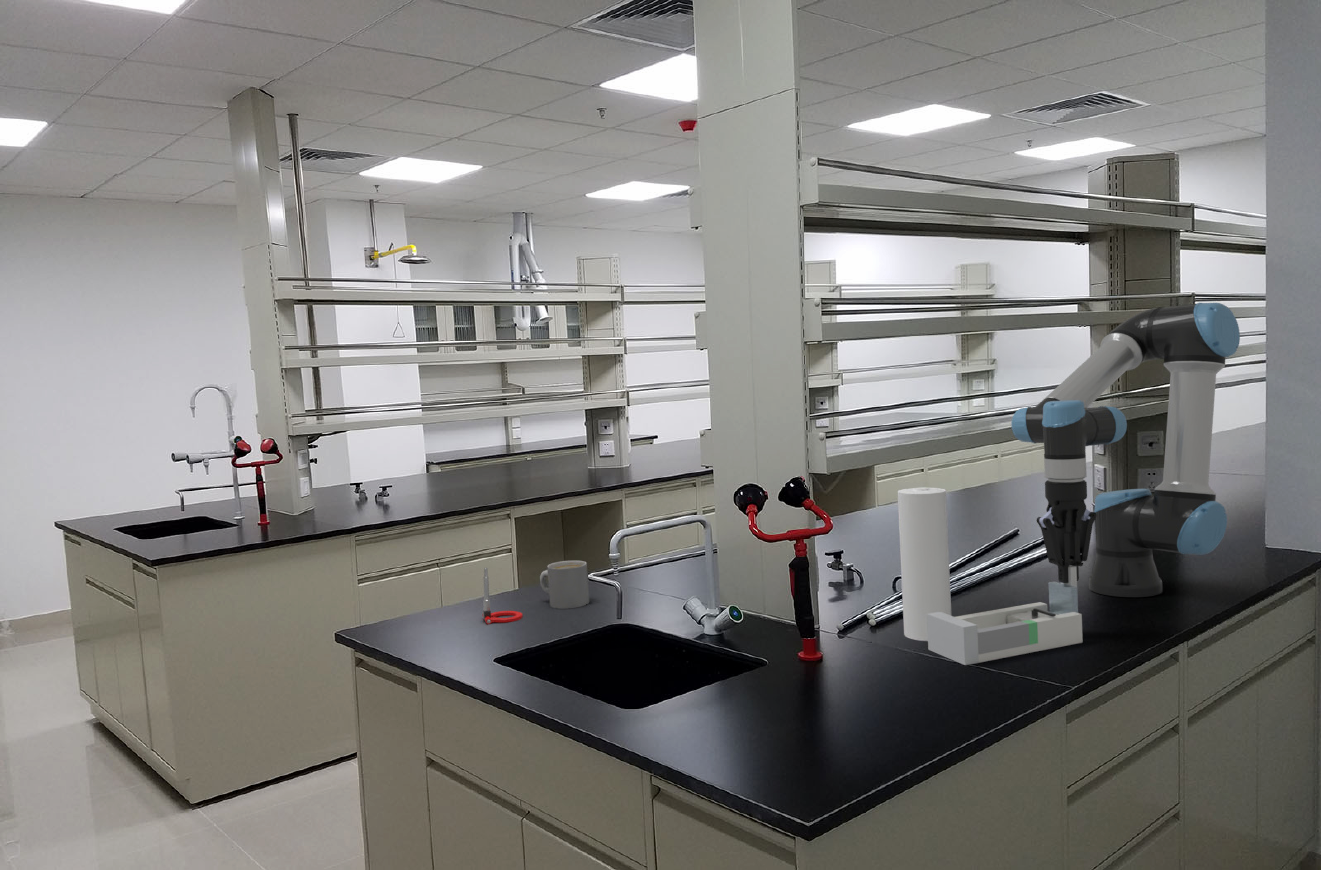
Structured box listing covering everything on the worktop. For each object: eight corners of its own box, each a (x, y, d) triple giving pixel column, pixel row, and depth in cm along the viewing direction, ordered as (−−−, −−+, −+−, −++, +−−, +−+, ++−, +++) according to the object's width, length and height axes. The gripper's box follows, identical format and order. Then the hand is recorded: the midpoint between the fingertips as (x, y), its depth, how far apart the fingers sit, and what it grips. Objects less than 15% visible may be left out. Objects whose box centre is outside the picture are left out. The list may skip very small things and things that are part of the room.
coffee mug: (597, 601, 234) (594, 562, 233) (569, 610, 227) (566, 570, 226) (561, 595, 243) (558, 558, 242) (532, 604, 235) (529, 565, 235)
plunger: (1055, 621, 185) (1054, 581, 185) (1087, 631, 177) (1085, 589, 177) (990, 633, 180) (989, 592, 179) (1020, 643, 172) (1019, 600, 172)
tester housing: (1041, 628, 187) (1039, 594, 187) (1082, 642, 177) (1081, 606, 176) (928, 649, 178) (926, 613, 178) (965, 665, 168) (963, 627, 167)
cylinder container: (951, 628, 191) (945, 484, 189) (953, 641, 182) (946, 490, 180) (904, 627, 194) (897, 485, 192) (903, 640, 185) (896, 492, 183)
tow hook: (519, 614, 228) (481, 617, 225) (518, 562, 227) (480, 565, 224) (525, 622, 220) (486, 625, 217) (524, 568, 219) (484, 571, 216)
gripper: (1077, 475, 186) (1080, 590, 188) (1025, 480, 182) (1029, 598, 183) (1106, 478, 179) (1110, 597, 181) (1052, 484, 175) (1056, 606, 176)
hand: (1069, 598), depth 182 cm, fingers closed
